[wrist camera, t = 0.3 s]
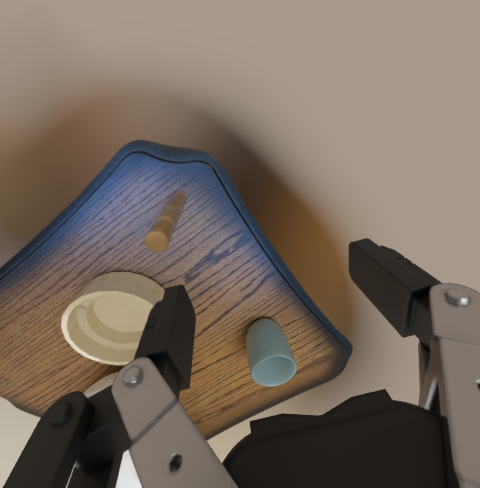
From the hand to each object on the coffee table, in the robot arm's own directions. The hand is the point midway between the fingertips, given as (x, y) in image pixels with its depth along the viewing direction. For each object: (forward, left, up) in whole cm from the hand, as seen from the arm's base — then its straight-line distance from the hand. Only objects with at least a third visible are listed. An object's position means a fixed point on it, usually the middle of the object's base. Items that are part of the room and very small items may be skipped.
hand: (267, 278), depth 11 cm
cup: (+30, -2, -26) cm, 40 cm away
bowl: (+16, -24, -26) cm, 39 cm away
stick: (0, -8, -26) cm, 27 cm away
